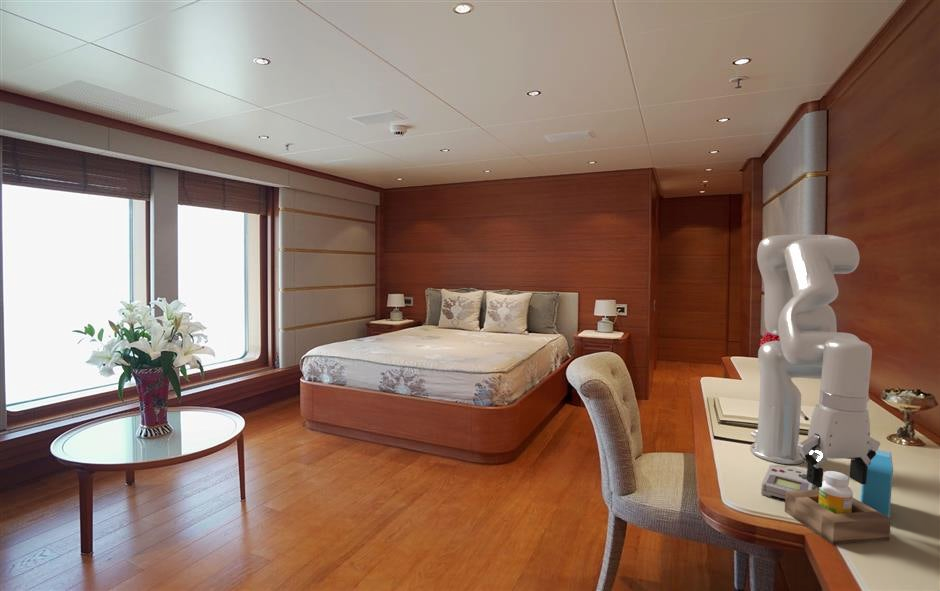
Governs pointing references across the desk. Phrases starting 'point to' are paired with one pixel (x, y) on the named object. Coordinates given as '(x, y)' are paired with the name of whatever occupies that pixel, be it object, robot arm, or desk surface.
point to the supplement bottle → (836, 493)
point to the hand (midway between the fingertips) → (835, 482)
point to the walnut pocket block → (838, 519)
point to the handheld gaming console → (784, 481)
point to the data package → (879, 483)
